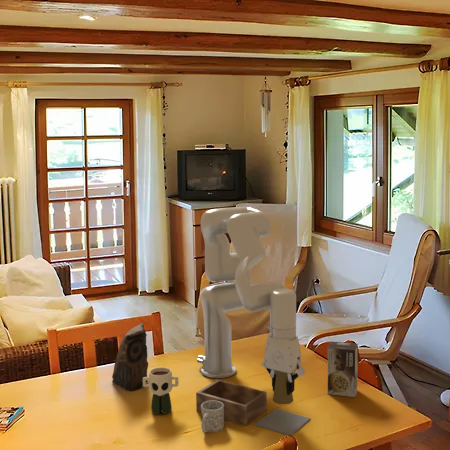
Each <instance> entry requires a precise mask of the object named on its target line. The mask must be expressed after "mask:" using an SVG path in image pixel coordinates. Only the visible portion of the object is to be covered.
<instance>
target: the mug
mask: <svg viewBox="0 0 450 450" xmlns="http://www.w3.org/2000/svg"><path fill="white" fill-rule="evenodd" d="M200 420H201V421H200V422H201V424H200V425H201V431H202V433H207V432H208V433H217V432H221V431H223V430H224V428H225V419H224V404H223V403H222V402H220V401H206V402H204V403H202V404H201V412H200Z"/></svg>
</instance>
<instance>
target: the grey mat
mask: <svg viewBox="0 0 450 450" xmlns="http://www.w3.org/2000/svg"><path fill="white" fill-rule="evenodd" d="M309 421H311V417H308V416H304V415H301V414H297V413H294V412H290V411H286V410H282V409H278V408H273V410H271V411H270V412H269V413H267V414H266V415H265V416H263V417H262V418H261V419H259V420H258V421H257V422H255V423H254V425H255V426H256V427H259V428H265V429H267V430H270V431H274V432H278V433H281V434H283V435H287V436H290V435H291V436H293V435H294V434H296V432H297V431H299V429H301V428H302V427H303V426H304V425H306V424H307V423H308V422H309ZM291 436H290V437H291Z"/></svg>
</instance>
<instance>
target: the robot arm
mask: <svg viewBox="0 0 450 450" xmlns="http://www.w3.org/2000/svg"><path fill="white" fill-rule="evenodd" d="M200 230H201V234H202V237H203V242H204V272H205V273H204V274H205V277H206V279H207V281H208V282H211V283H221V284H214V285H209V286H207V287H205V288H204V289H203V290H202V292H201V293H200V302H201V308H202V312H203V313H202V314H203V329H204V355H202V354H200V355H198V356H197V361H196V362H197V363H198V364H201V365H202V366H201V367H200V373H201V375H203V376H205V377H208V378H212V379H223V378H224V379H226V378H228V377H232V376H233V375H235V374H236V373H237V367H236V366H235V365H234V364H233V363H232V362H233V361H232V360H233V359H232V357H233V356H232V353H233V351H232V348H233V347H232V322H231V320H230V318H229V317H228V316H227V315H226V312H229V311H235V310H242V309H245V310H248V311H249V312H258V311H264V310H269V324H267V325H266V330H269V334H267V336H266V340H265V348H264V356H263V357H264V359H263V360H262V362H261V366H262V367H263V368H264V369H265V370H266V371H267V373H268V374H269V377H270V378H271V386H272V392H274V388H275V380H276V375H275V372H274V370H276V371H280V372H284V373H288V375H287V376H288V382H287V383H286V388H287V395H290V394H291V393H292V394H293V393H294V391H295V386H296V385H295V380H296V379H297V378H300V377H301V376H303V375H304V374H306V370H305V369H304V367H303V365H302V355H301V346H300V341H299V337H298V336H297V294H296V292H295V290H293V289H290V288H288V287H286V286H285V284H284V283H282V282H269V283H262V284H255V285H252V284H251V269H252V268H253V267H254V266H256V265H258V264H259V263H261V262H262V261H263V259H264V258H265V257H266V249H265V248H264V245H263V243H262V241H261V239H262V238H265V237H268V236H270V234H271V231H272V224H271V220H270V218H269V216H268V215H267V214H266V213H265V212H263V211H261V210H259V209H256V208H252V207H250V206H235V207H233V206H232V207H222V208H221V207H220V208H213V209H209V210H206V211H205V212H203V214H202V215H201V218H200ZM226 234H228V235H229V238H230V240H231V243H232V245H233V248H234V250H235V252H230V240H229V238H228V237H227V235H226ZM229 281H230V282H229ZM231 281H233V282H231ZM222 282H229V283H222Z"/></svg>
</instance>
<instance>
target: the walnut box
mask: <svg viewBox="0 0 450 450" xmlns="http://www.w3.org/2000/svg"><path fill="white" fill-rule="evenodd" d="M267 395H268V394H267V391H263V390H260V389H256V388H253V387H249V386H244V385H241V384H237V383H233V382H229V381H226V380H222V379H220V378H217V379H216V380H215V381H213V382H212V383H210V384H208V385H207V386H205V387H203V388H201V389H199V390H198V391H196V392H195V398H196V399H195V400H196V401H195V402H196V404H195V405H196V406H195V407H196V408H195V409H196V412H199V413H201V404H202V403H204V402H206V401H220V402H222V403H223V404H224V421H229V422H232V423H234V424H237V425H241V426H244V427H246V426H247V425H249V424H250V423H253V421H254V420H256V419H257V418H258V417H260V416H261V415H262V414H264V413H265V412H266V411H267V407H268V406H267V402H268V401H267Z"/></svg>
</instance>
